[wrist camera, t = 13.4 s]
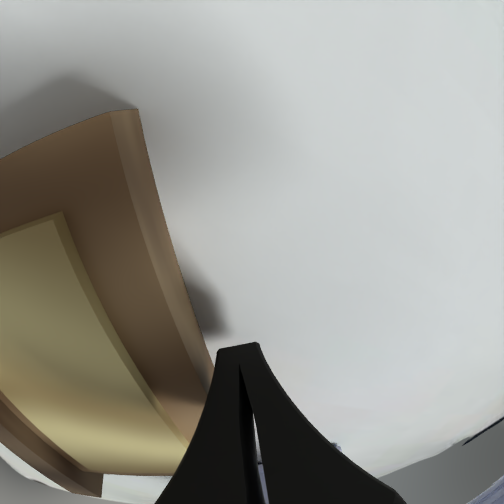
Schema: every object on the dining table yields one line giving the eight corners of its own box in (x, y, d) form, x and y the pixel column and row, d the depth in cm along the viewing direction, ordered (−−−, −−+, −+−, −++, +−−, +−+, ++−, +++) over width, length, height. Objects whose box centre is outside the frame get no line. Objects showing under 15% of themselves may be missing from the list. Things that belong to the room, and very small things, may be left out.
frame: (239, 423, 15) (247, 476, 12) (89, 433, 15) (82, 477, 12) (141, 108, 8) (101, 112, 4) (-58, 201, 7) (-109, 237, 4)
